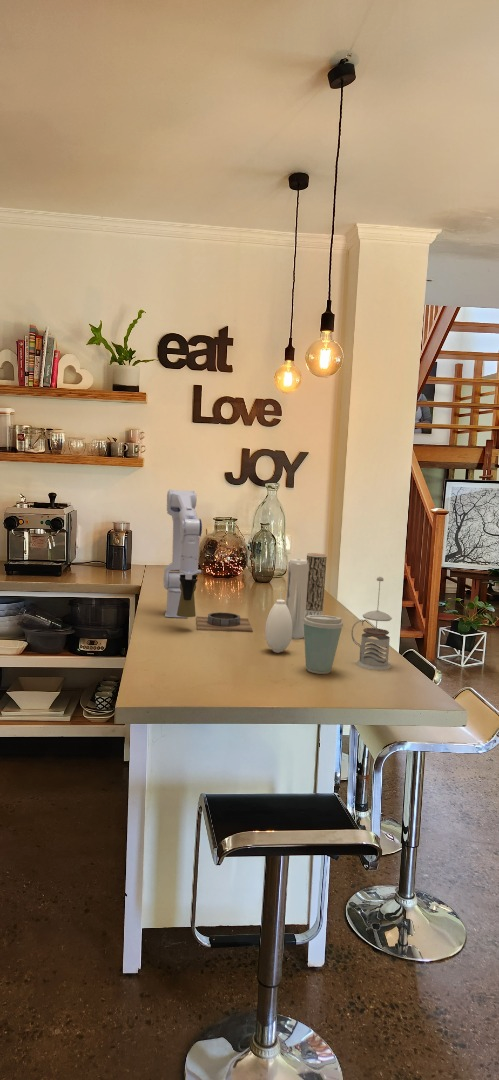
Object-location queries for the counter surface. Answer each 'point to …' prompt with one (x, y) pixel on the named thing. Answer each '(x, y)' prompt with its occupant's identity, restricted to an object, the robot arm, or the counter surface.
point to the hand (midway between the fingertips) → (187, 598)
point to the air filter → (297, 595)
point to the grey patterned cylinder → (315, 583)
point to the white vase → (278, 626)
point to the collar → (223, 619)
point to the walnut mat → (243, 627)
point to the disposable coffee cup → (321, 641)
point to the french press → (374, 641)
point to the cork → (186, 605)
